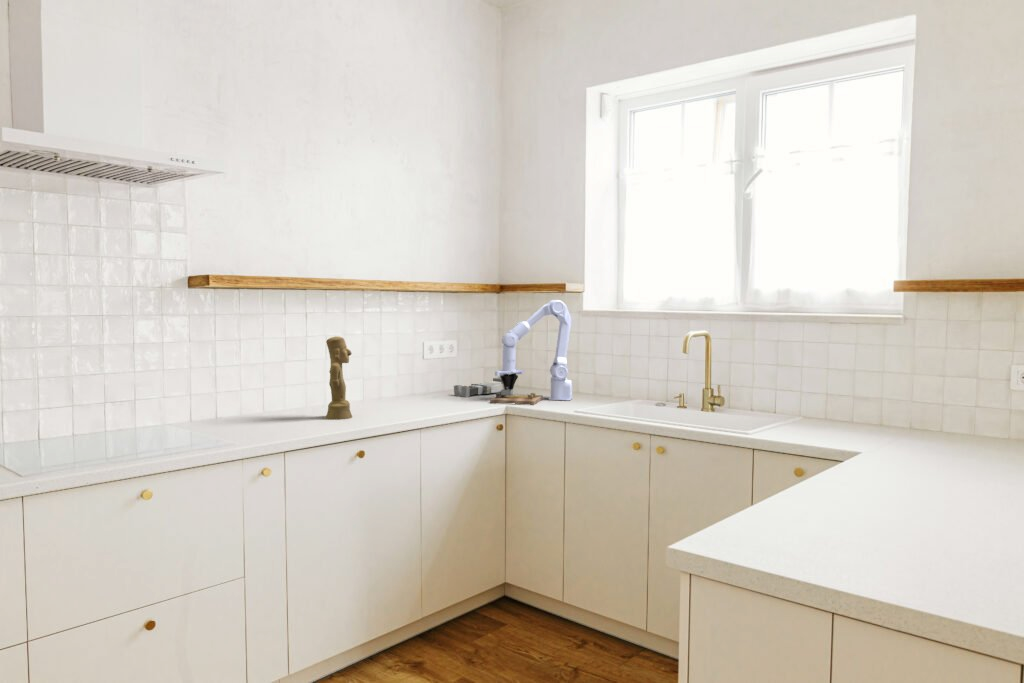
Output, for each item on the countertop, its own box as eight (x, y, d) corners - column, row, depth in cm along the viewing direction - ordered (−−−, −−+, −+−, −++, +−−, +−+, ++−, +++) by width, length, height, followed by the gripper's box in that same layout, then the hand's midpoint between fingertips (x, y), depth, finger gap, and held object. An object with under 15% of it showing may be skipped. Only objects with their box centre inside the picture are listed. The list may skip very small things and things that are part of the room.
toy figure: (452, 382, 340) (499, 376, 361) (452, 397, 340) (500, 390, 361) (468, 385, 332) (516, 378, 352) (468, 400, 332) (516, 392, 353)
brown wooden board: (542, 398, 330) (542, 391, 329) (533, 405, 310) (533, 396, 310) (501, 397, 334) (501, 389, 334) (490, 403, 314) (490, 395, 314)
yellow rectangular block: (533, 397, 322) (533, 395, 322) (531, 398, 319) (531, 396, 319) (507, 396, 324) (507, 394, 324) (506, 397, 321) (506, 395, 321)
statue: (348, 419, 268) (347, 337, 267) (321, 419, 269) (321, 337, 267) (355, 415, 280) (355, 335, 278) (329, 414, 280) (329, 335, 278)
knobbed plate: (513, 394, 323) (513, 386, 323) (510, 395, 319) (510, 387, 319) (503, 393, 324) (503, 386, 324) (501, 395, 320) (501, 387, 320)
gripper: (501, 361, 317) (501, 393, 318) (527, 360, 326) (527, 391, 327) (491, 360, 322) (491, 391, 323) (517, 359, 331) (517, 389, 332)
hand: (508, 391), depth 325 cm, fingers closed
